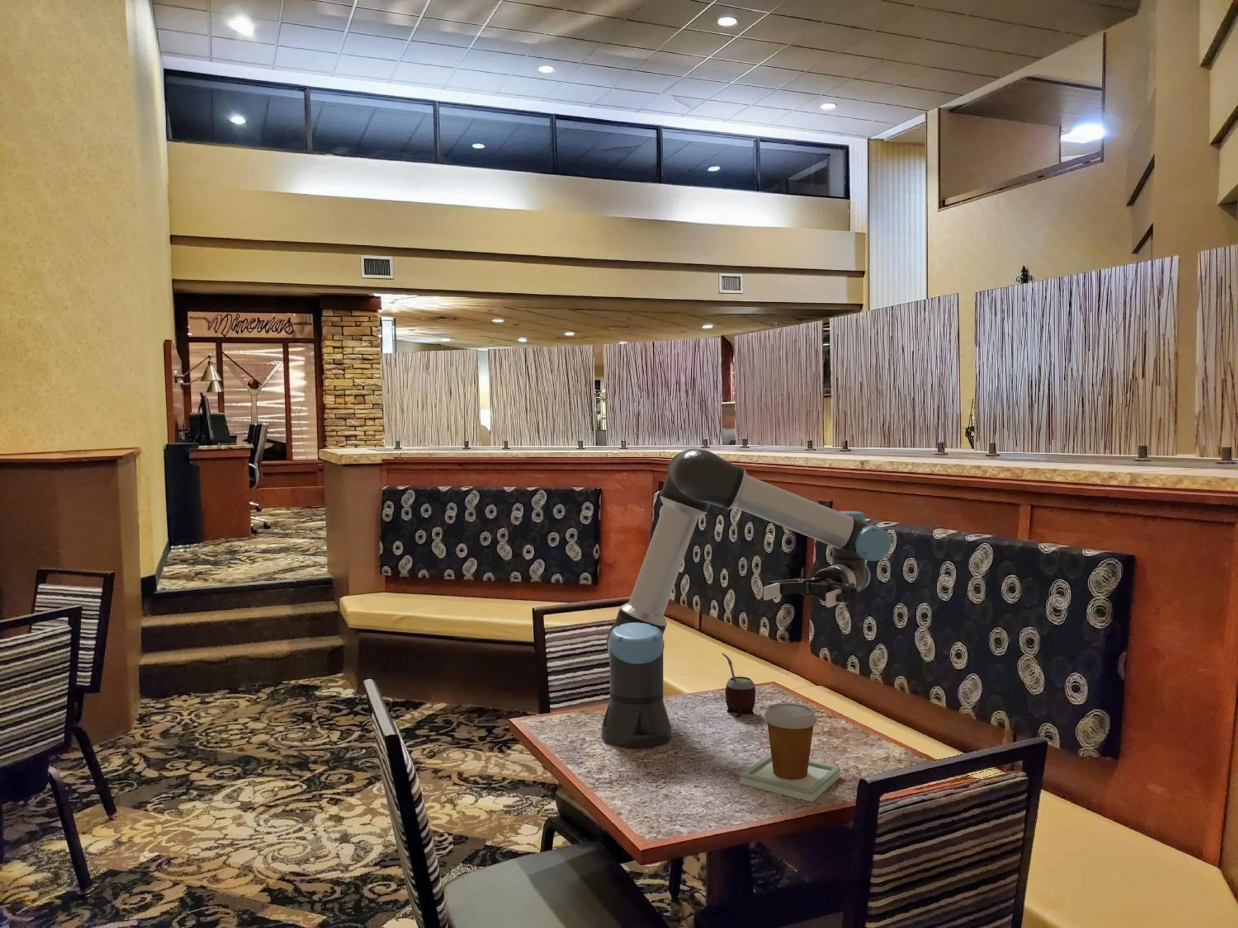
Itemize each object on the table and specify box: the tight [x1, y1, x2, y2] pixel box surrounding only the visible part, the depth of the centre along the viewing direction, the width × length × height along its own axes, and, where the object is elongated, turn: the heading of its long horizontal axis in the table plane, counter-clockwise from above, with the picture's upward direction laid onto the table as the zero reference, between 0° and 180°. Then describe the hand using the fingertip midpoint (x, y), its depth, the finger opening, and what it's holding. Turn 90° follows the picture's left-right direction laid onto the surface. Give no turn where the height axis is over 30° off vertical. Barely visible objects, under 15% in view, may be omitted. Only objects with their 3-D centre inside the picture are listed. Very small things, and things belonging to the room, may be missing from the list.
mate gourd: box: [721, 653, 757, 718], centre depth 194 cm, size 8×8×15 cm
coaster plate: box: [739, 752, 841, 803], centre depth 154 cm, size 14×14×2 cm
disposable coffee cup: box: [764, 702, 817, 780], centre depth 154 cm, size 10×10×12 cm
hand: (795, 596), depth 168 cm, fingers open, 13 cm apart
